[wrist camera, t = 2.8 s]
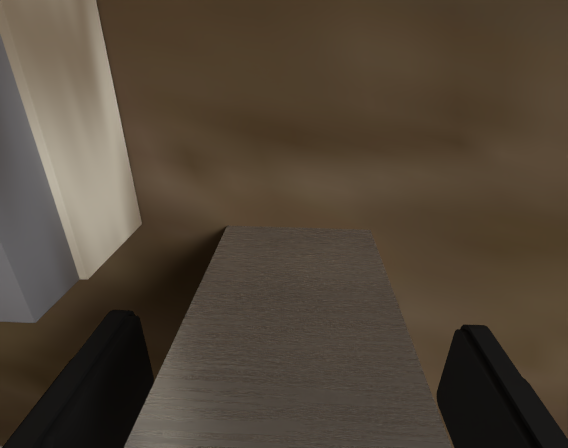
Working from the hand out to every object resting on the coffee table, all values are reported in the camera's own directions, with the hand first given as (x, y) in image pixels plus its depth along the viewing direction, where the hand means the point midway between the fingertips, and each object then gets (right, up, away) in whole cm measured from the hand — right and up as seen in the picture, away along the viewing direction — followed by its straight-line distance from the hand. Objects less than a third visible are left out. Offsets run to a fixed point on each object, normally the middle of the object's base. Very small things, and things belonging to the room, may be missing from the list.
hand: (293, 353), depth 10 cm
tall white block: (0, +1, +2) cm, 2 cm away
